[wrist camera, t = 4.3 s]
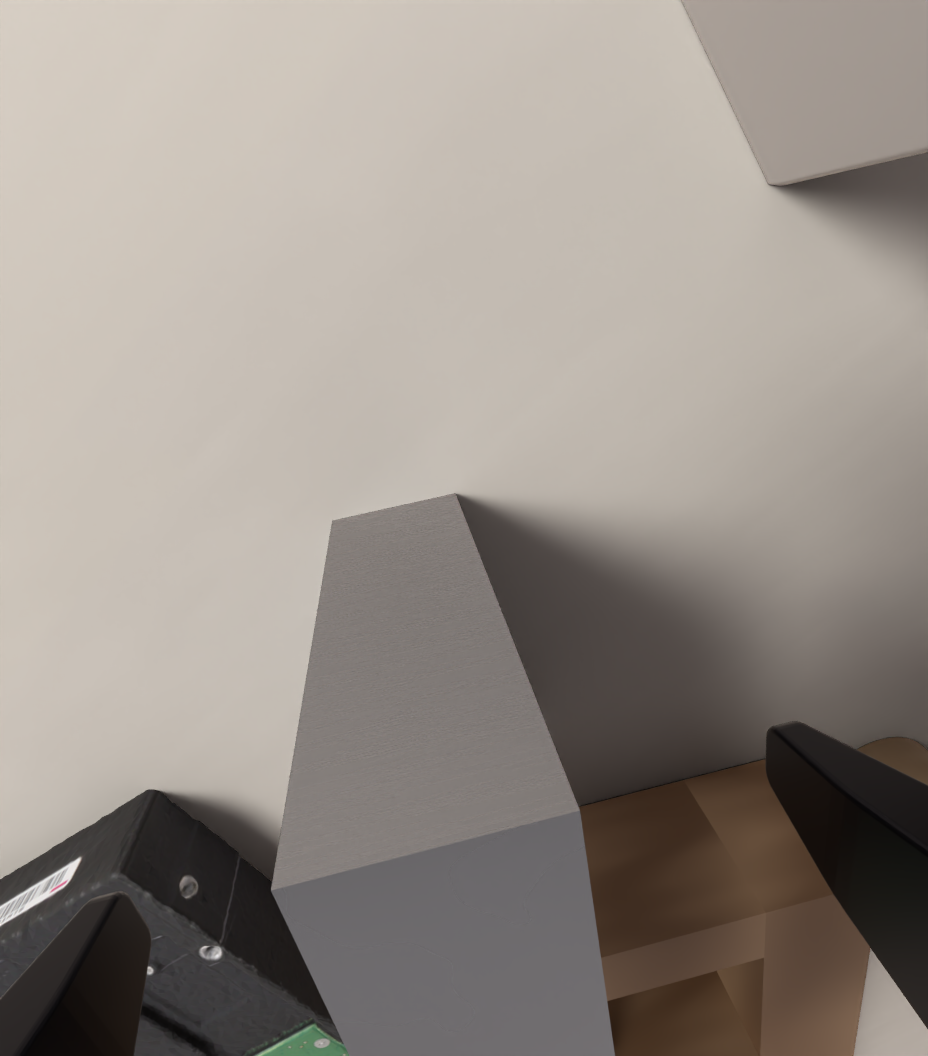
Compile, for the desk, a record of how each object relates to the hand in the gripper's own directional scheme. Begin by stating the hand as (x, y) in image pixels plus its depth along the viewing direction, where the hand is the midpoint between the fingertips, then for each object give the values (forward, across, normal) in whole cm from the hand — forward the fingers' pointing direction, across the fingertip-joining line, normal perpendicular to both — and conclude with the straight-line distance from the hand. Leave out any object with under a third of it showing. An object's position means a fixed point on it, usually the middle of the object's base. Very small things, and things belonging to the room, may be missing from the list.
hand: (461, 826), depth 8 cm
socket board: (+5, -3, +16) cm, 17 cm away
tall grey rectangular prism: (+5, 0, 0) cm, 5 cm away
